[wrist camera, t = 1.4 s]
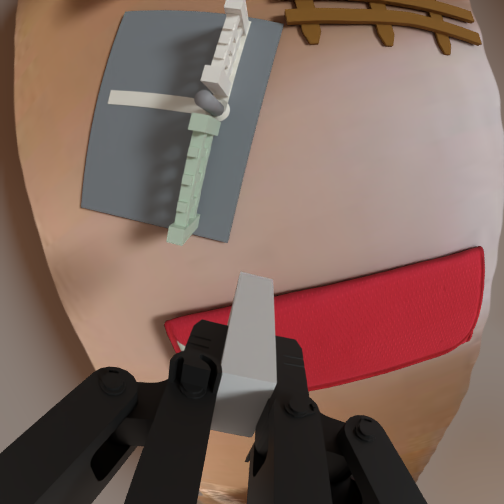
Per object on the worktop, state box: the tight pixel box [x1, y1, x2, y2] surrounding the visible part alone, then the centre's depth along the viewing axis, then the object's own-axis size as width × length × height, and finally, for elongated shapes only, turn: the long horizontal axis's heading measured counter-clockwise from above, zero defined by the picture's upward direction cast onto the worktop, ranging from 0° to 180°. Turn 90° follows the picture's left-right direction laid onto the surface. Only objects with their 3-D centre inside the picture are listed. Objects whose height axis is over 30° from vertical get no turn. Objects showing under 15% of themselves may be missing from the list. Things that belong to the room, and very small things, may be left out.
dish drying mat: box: [164, 246, 485, 391], centre depth 33 cm, size 16×41×4 cm, turn 103°
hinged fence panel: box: [167, 90, 224, 246], centre depth 25 cm, size 13×1×6 cm, turn 166°
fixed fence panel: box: [200, 0, 249, 97], centre depth 21 cm, size 8×1×6 cm, turn 166°
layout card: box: [81, 10, 284, 243], centre depth 26 cm, size 24×18×1 cm
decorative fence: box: [281, 0, 482, 55], centre depth 21 cm, size 25×2×10 cm
